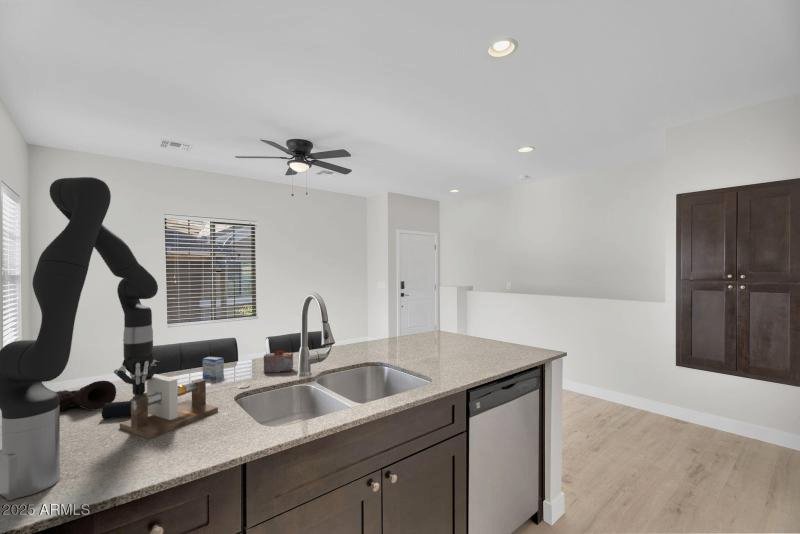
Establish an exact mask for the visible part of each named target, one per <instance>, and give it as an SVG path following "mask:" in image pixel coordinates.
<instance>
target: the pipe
mask: <svg viewBox="0 0 800 534" xmlns="http://www.w3.org/2000/svg"><path fill="white" fill-rule="evenodd" d="M55 392H56V393H57V394H58V395H59V405H60V412H62V411H64V410H67V409H69V408H71V407H75V406H79V407H81V408H84V409H85V410H88V411H97V409H98V410H102V408H103V406H104V405H105V404H106V403H111V402H114V401H115V398H116V396H117V388H116V386H115V384H114V383H113V382H111V381H108V380H99V381H98V380H96V381H93V382H91V383H89V384H87V385H84V386H83V387H81V388H79V389H76V390H59V391H55Z"/></svg>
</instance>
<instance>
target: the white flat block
mask: <svg viewBox="0 0 800 534" xmlns="http://www.w3.org/2000/svg"><path fill="white" fill-rule="evenodd" d="M177 386H178V379H177V378H174V377H170V376H165V375H161V374H156V373H155V374H154V375H153V377H152V378H151V379H148V380H147V381H146V393H147V396H148V395H152V394H155V393H158V392H162V401H161V402H158V403H155V404H152V405H149V406H148V413H149V414H152V415H155V416H158V417H161V418H165V419H168V420H171V419H173V418H176V417H178V403H179V402H178V396H177Z"/></svg>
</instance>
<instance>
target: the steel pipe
mask: <svg viewBox="0 0 800 534" xmlns="http://www.w3.org/2000/svg"><path fill="white" fill-rule="evenodd" d="M195 390H197V383H196V382H192V381H191V382H188V383H185V384H180V385H177V397H180V396H184V395H186V394H188V393H192V391H195ZM145 397H147V398H148V406H149V405H152V404H155V403H158V402H161V401H162V392H158V393H155V394H152V395H148V396H145ZM131 407H132V409H133V410H136V408H137V404H136V401H135V400H134V401H132V402H131Z"/></svg>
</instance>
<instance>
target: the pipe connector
mask: <svg viewBox="0 0 800 534" xmlns="http://www.w3.org/2000/svg"><path fill="white" fill-rule="evenodd" d="M140 396H144V397H145V396H147V392H144V393H143V395H140ZM140 396H135V395H133V396H132V398H131V399H133V398H137V397H140ZM131 399H130V400H126V401H115V402H114V401H113V402H111V403H106V404H105V405H104V406H103V408H101V418H102V419H103V420H106V419H116V418H128V417H129V418H130V417H131Z"/></svg>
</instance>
